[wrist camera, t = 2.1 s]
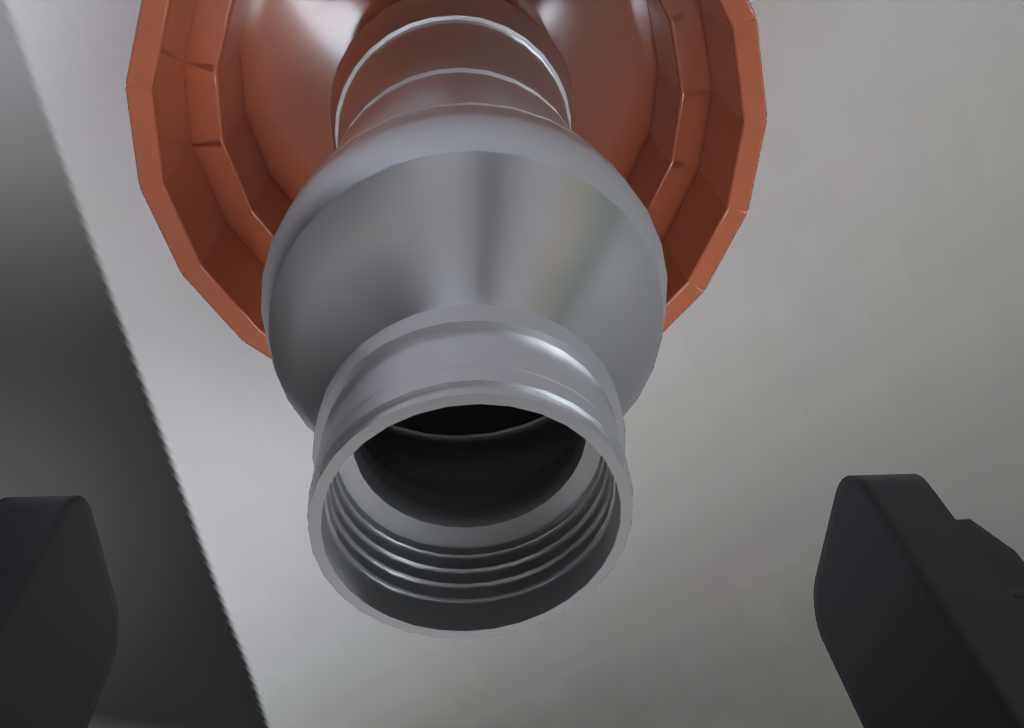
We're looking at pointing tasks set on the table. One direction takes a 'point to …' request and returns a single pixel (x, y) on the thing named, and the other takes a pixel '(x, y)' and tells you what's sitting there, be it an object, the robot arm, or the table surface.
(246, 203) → the bowl
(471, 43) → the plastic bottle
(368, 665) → the table surface
